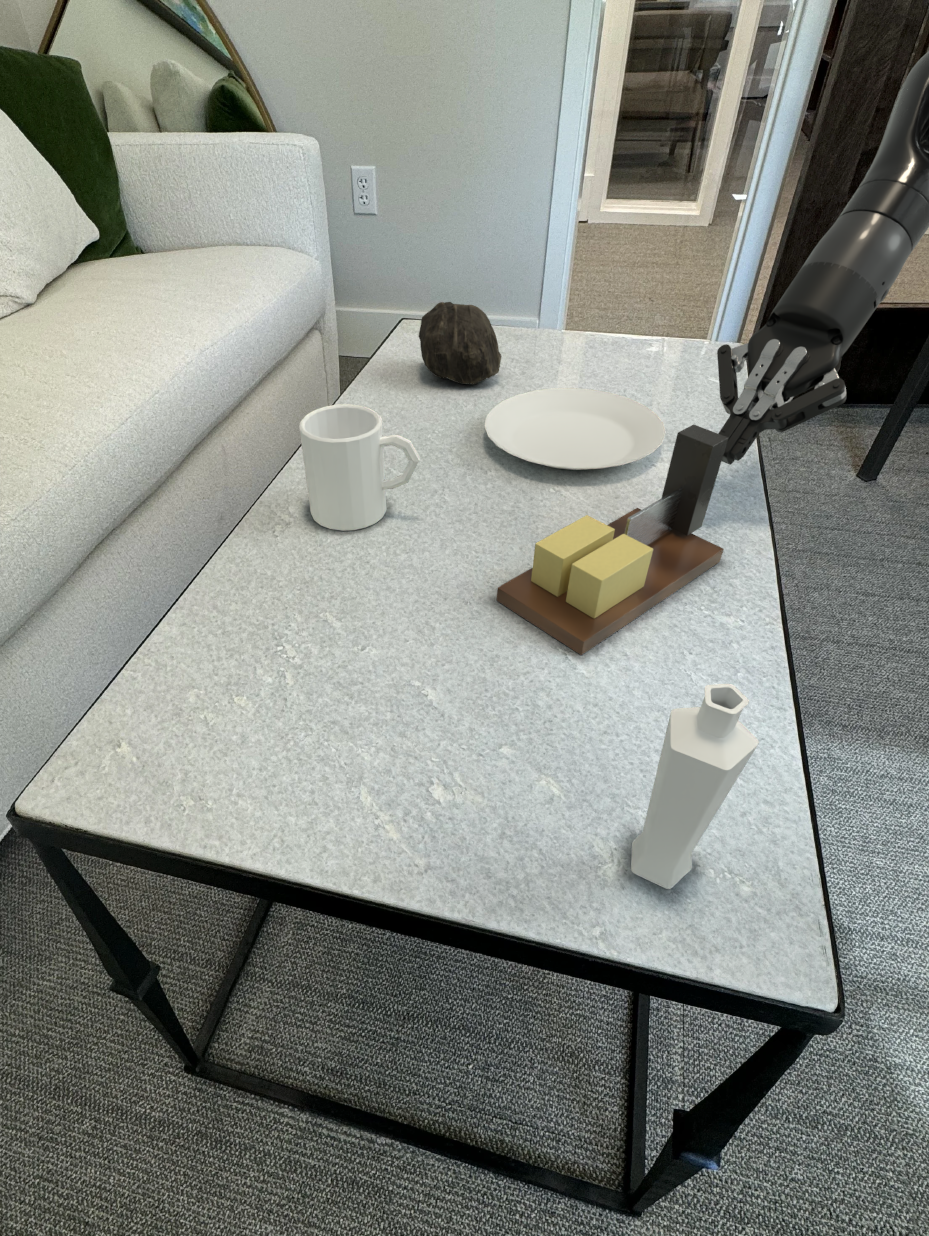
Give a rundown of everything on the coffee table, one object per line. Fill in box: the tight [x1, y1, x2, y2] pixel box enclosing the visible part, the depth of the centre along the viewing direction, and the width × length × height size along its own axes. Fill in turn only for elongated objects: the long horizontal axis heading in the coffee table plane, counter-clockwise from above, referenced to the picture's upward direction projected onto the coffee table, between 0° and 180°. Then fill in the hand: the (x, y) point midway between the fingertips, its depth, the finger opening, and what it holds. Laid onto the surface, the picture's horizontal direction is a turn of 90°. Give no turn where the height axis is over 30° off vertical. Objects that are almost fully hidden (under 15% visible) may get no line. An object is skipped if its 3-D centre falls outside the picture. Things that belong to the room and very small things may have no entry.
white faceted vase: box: [630, 683, 760, 890], centre depth 41 cm, size 5×4×15 cm
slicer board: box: [496, 507, 725, 656], centre depth 67 cm, size 20×10×2 cm, turn 130°
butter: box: [531, 514, 653, 619], centre depth 64 cm, size 7×7×4 cm
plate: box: [483, 387, 667, 471], centre depth 86 cm, size 21×21×2 cm
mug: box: [298, 403, 421, 532], centre depth 74 cm, size 8×12×10 cm
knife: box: [624, 424, 728, 545], centre depth 66 cm, size 10×4×9 cm, turn 130°
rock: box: [418, 301, 502, 385], centre depth 99 cm, size 10×11×10 cm
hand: (721, 458), depth 69 cm, fingers closed
